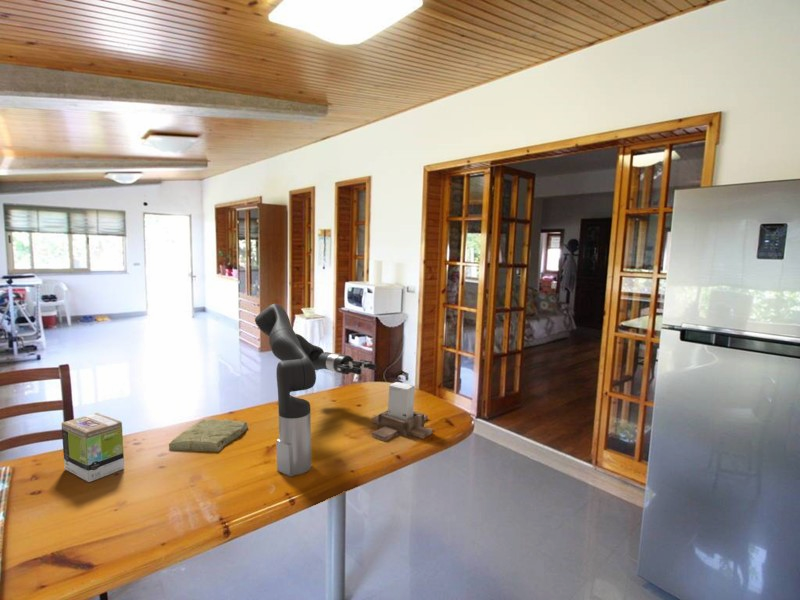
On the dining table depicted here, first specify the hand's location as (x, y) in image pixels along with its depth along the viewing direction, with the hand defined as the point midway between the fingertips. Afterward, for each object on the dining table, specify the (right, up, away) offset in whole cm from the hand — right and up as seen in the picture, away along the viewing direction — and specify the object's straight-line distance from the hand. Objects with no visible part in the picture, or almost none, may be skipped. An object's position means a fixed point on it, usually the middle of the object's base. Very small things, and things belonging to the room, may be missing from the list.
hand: (368, 369), depth 165 cm
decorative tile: (-54, -22, -15) cm, 60 cm away
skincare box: (+12, -19, -5) cm, 24 cm away
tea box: (-79, -24, -37) cm, 91 cm away
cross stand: (+13, -21, -5) cm, 25 cm away
